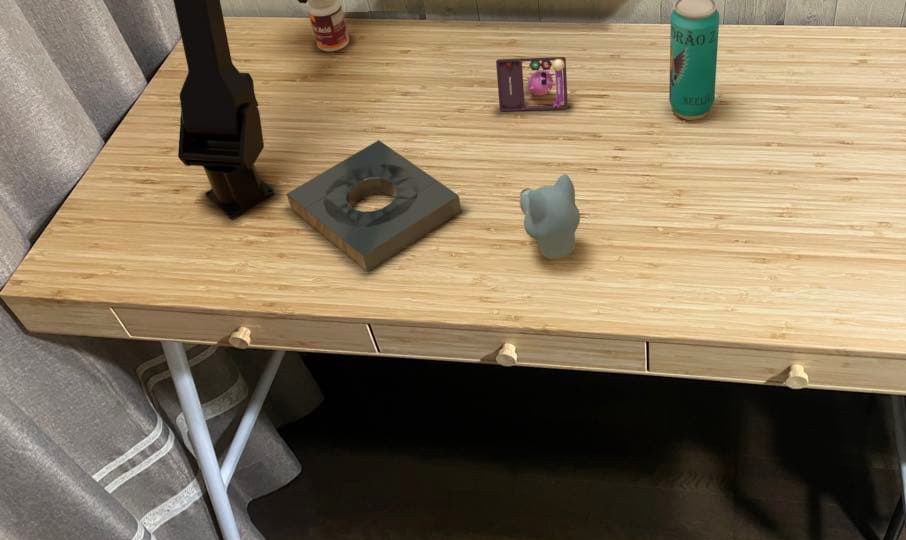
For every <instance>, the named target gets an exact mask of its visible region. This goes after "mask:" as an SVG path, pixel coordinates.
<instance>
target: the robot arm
mask: <svg viewBox="0 0 906 540" xmlns="http://www.w3.org/2000/svg"><path fill="white" fill-rule="evenodd" d="M172 1H173V7H174V10H175V14H176V19H177V24H178V29H179V33H180V38H181V42H182V47H183V51H184V56H185V60H186V66H187V74H186V77H185V79H184V82H183V84H182V86H181V90H180V91H179V102H180V121H179V125H180V126H179V138H178V151H177V153H178V154H177V158H178V159H179V160H180V162H182V164H183V165H184V166H185V167H191V166H192V167H193V166H194V167H202V168H203V170H204V172H205V174H206V175H205V176H206V177H207V180H208V182H209V184H210V187H211V189H209V190H207V191H206V192H205V193H204V195H205V198H206V199H207V200H208V201H209V202H210V203H211V204H213V205H214V206H215V207H216V208H217V209H218V210H220V212H222V213H223V214H224V215H225V216H226V217H227V218H228V219H235V218H237V217H238V216H240V215H242V214H244V213H245V212H248V211H249V210H251V209H252V208H255V206H257V205H259V204H261V203H263V202H264V201H266V200H268V199H270V198H271V197H273V196H274V195H275V190H274V188H272V187H271V186H270V185H268V183H266V182H265V181H263V180H262V179H261V178H260V177H259V174H258V172H257V169H256V166H255V163H256V161H257V160H258V158H259V156H260V155H261V153H262V151H263V150H264V148H265V143H264V136H263V128H262V120H261V115H260V110H259V103H258V99H257V98H256V94H255V93H256V92H255V85H254V79H253V77H252V75H251V74H250V73H249V72H240V70H238V69H237V67H236V66H235V65H234V64H233V60H232V56H231V50H230V45H229V40H228V35H227V29H226V25H225V19H224V14H223V10H222V8H223V7H222V3H221V0H172ZM297 1H298V3H300V4H307V3H308V0H297Z"/></svg>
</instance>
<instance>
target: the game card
mask: <svg viewBox="0 0 906 540" xmlns="http://www.w3.org/2000/svg"><path fill="white" fill-rule="evenodd" d="M551 61H552V62H551ZM524 62H530V63H529V65H528V66H529V68H530V69H531V71H534V72H529V75H530V76H526V80H528V81H527V89H528V90H526V93H528V94H529V93H530V94H532V95H533V96H544V95H546V94H548V93H550V91H552V89H553V86H555V95H556V97H555V98H556V99H555V100H554V103H553V105H535V106H534V105H533V106H530V105H529V106H526V103H525V89H524V88H525V87H524V75H523V63H524ZM495 65H496V78H497V79H496V80H497V92H498V106H499V111H500V112H514V111H515V112H517V111H542V110H543V111H546V110H567V109H568V106H569V104H568V103H569V101H568V81H567V80H568V77H567V58H566V57H565V56H552V57H551V56H549V57H548V56H547V57H525V58H524V57H522V58H521V57H520V58H498V59H496V61H495ZM551 67H552V69H553V70H554V73H550V70H551ZM540 68H541V69H540ZM553 76H555V83H554V79H553ZM560 103H564V104H563V105H561V104H560Z"/></svg>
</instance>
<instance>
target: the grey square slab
mask: <svg viewBox="0 0 906 540" xmlns="http://www.w3.org/2000/svg"><path fill="white" fill-rule="evenodd" d="M285 195H286V197H287V200H288V203H289V206H290V209H291V210H292V211H293V212H294V213H295V214H297V215H298V216H299V217H300V218H302V219H303V220H304V221H305V222H306V223H308V224H309V226H311V227H312V228H314V229H315V231H317V232H318V233H320V234H321V235H322V236H324V237H325V238H326V239H327V240H329V242H331V243H332V244H333V245H334V246H336V247H337V248H338V249H339V250H340V251H342V252H343V253H344V254H345V255H347V257H349V258H350V259H351V260H352V261H353V262H355V263H356V264H358V265H359V266H360V267H361V268H362V269H364V270H365V271H366V272H370V271H371V270H372V269H374V268H376V267H378V266H379V265H381V264H382V263H384V262H385V261H387V260H388V259H390V258H391V257H393V256H394V255H396V254H398V253H399V252H401V251H402V250H404V249H405V248H407V247H408V246H410V245H412V244H413V243H415V242H417V241H418V240H420V239H421V238H422V237H424V236H426V235H427V234H429V233H430V232H431V231H434V230H435V229H437V228H438V227H440V226H441V225H443V224H444V223H446V222H448V220H450V219H452V218H453V217H455V216H457V215H458V214H460V213H461V212H462V207H461V201H460V196H459V194H458V193H456V192H454V191H453V190H452V189H450V188H449V187H447V186H446V185H444V184H443V183H442V182H440V181H439V180H437V179H436V178H435V177H433V176H432V175H430V174H428V173H427V172H426V171H424V170H423V169H422V168H420V167H419V166H418V165H416V164H414V163H413V162H411V161H410V160H408V159H407V158H406V157H404V156H403V155H401V154H400V153H399V152H397V151H395V150H394V149H393V148H391V147H389V146H388V145H387V144H386V143H384V142H382V141H381V140H376V141H375V142H372V143H371V144H369V145H367V146H366V147H364V148H363V149H360V150H359V151H357V152H356V153H354V154H352V155H350V156H349V157H347V158H345V159H344V160H342V161H340V162H338V163H337V164H335V165H333V166H331V167H329V168H328V169H326V170H325V171H323V172H321V173H319V174H318V175H316V176H314V177H312V178H311V179H309V180H307V181H306V182H304V183H302V184H300V185H298V186H297V187H295V188H294V189H292V190H290V191H288V192H286V194H285ZM372 195H387V196H392V197H394V199H393V200H392V201H391V202H390V203H389V204H388V205H385V206H384V207H382V208H379V209H376V210H371V211H368V210H367V211H362V210H358V209H354V208H353V207H354V206H355V205H356V203H357V202H359V201H360V200H363V199H364V198H367V197H370V196H372Z"/></svg>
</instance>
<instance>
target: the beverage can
mask: <svg viewBox="0 0 906 540" xmlns="http://www.w3.org/2000/svg"><path fill="white" fill-rule="evenodd" d="M719 29H720V13H719V10H718V2H717V1H716V0H674V2H673V10H672V12H671V14H670V32H669V33H670V35H669V36H670V39H669V40H670V41H669V44H670V45H669V88H668V89H669V91H668V93H669V95H668V101H669V103H670V106H671V109H672V111H673V112H674V114H675V115H676V116H678V117H679V118H681V119H684V120H689V121H693V120H699V119H702V118H704V117H705V116H706V115H708V114H709V112H710V110H711V108H712V106H713V104H714V102H715V94H716V80H717V64H718V63H717V62H718V45H719Z"/></svg>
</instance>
